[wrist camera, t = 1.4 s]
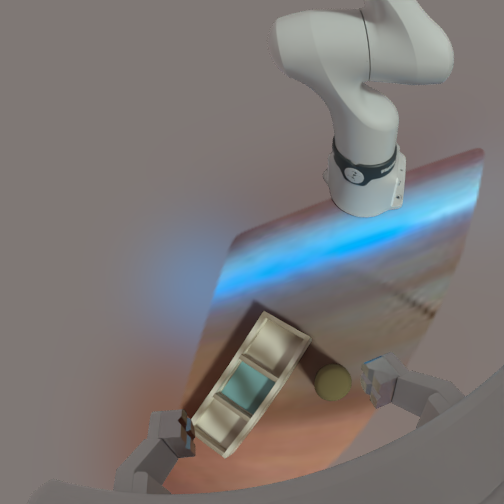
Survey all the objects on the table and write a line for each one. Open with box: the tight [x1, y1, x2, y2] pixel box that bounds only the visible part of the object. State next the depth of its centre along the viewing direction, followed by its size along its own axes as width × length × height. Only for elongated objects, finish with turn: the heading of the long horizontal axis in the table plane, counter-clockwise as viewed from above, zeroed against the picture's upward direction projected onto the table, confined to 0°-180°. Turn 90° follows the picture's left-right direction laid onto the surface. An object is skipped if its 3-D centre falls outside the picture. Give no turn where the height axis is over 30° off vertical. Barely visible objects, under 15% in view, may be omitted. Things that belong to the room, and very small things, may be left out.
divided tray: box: [191, 311, 312, 459], centre depth 43 cm, size 26×9×4 cm, turn 147°
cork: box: [314, 364, 352, 401], centre depth 37 cm, size 6×6×11 cm
